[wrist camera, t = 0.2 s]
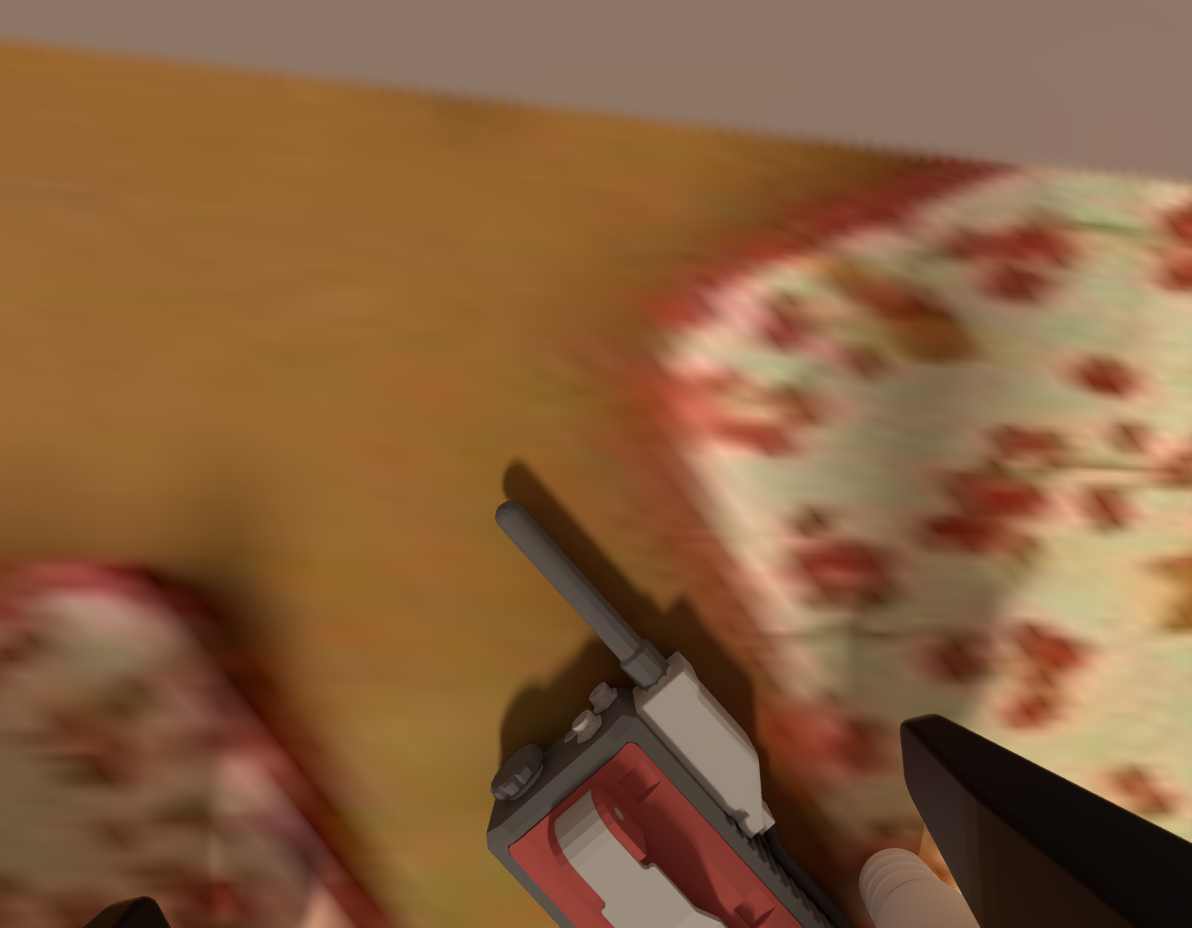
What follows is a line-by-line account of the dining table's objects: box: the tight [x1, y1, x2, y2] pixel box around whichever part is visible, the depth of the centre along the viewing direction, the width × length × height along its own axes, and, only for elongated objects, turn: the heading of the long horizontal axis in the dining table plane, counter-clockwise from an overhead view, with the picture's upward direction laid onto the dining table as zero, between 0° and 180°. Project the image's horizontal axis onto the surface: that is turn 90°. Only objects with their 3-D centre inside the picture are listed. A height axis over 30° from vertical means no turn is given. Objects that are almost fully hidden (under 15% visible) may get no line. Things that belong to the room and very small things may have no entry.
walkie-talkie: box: [486, 501, 854, 928], centre depth 22 cm, size 9×4×20 cm
